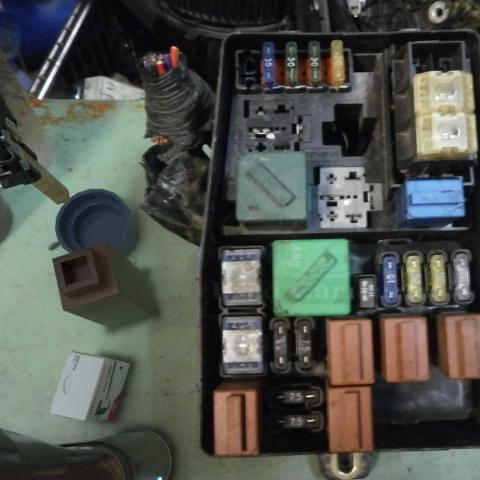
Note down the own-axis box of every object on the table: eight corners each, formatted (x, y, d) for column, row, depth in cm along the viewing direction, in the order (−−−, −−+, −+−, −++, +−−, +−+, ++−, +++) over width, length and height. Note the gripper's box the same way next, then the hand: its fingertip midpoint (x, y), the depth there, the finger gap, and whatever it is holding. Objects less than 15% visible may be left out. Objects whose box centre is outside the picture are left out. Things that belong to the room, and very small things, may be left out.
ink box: (114, 420, 80) (84, 424, 69) (82, 413, 80) (47, 416, 69) (131, 362, 82) (105, 356, 71) (100, 355, 83) (69, 349, 71)
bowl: (146, 254, 87) (137, 244, 82) (77, 275, 86) (63, 267, 81) (130, 192, 90) (120, 179, 85) (63, 212, 89) (48, 200, 83)
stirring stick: (71, 201, 72) (19, 156, 59) (57, 205, 72) (2, 160, 58) (68, 189, 72) (16, 141, 59) (54, 193, 72) (-1, 146, 59)
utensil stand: (155, 314, 85) (111, 288, 64) (111, 328, 84) (52, 306, 64) (144, 272, 86) (98, 235, 66) (101, 286, 86) (40, 252, 65)
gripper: (-118, 36, 48) (-12, 128, 65) (-98, 171, 45) (9, 232, 61) (-32, 15, 49) (51, 111, 66) (-6, 146, 46) (75, 213, 62)
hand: (30, 170), depth 63 cm, fingers closed on stirring stick, 2 cm apart
